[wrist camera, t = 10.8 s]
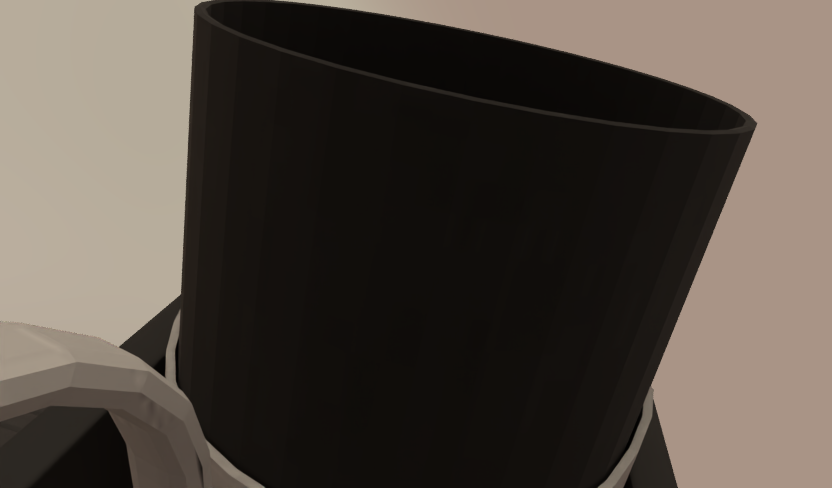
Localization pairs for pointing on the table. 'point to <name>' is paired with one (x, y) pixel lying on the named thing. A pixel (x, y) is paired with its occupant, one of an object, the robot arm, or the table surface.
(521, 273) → the glass holder
